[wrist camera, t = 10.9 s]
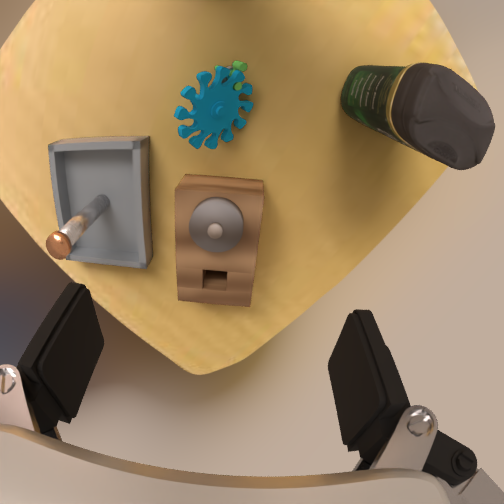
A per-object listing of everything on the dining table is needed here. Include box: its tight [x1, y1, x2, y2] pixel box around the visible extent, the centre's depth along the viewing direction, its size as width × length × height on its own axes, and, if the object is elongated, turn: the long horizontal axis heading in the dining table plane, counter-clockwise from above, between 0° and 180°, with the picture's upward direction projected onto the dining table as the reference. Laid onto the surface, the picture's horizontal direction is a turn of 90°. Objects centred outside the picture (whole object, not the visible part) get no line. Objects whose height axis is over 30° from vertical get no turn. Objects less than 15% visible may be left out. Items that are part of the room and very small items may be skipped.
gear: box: [174, 60, 253, 149], centre depth 31 cm, size 11×6×10 cm
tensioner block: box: [175, 174, 264, 307], centre depth 38 cm, size 16×10×9 cm, turn 174°
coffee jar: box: [341, 63, 495, 170], centre depth 25 cm, size 10×8×19 cm
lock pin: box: [46, 194, 110, 260], centre depth 33 cm, size 3×3×13 cm
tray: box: [48, 136, 153, 269], centre depth 38 cm, size 18×14×4 cm
